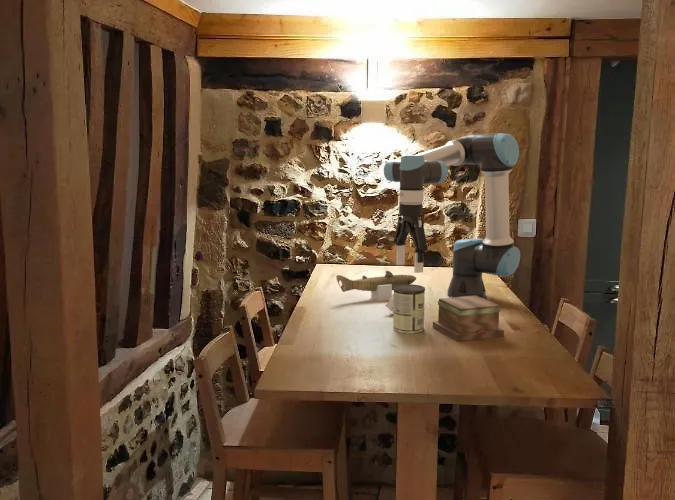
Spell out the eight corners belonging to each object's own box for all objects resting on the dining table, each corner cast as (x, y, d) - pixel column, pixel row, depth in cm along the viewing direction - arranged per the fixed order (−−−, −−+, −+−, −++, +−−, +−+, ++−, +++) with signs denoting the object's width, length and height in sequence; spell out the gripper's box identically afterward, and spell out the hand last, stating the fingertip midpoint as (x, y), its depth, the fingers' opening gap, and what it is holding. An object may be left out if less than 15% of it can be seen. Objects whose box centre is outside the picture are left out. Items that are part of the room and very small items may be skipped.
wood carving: (331, 300, 245) (331, 272, 243) (409, 292, 259) (409, 266, 257) (340, 306, 236) (341, 277, 235) (420, 297, 250) (421, 270, 249)
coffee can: (396, 323, 214) (397, 283, 212) (426, 326, 211) (427, 285, 208) (389, 331, 204) (390, 289, 202) (420, 334, 201) (421, 292, 199)
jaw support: (421, 308, 222) (402, 288, 222) (404, 324, 224) (385, 305, 225) (424, 300, 234) (406, 282, 234) (407, 316, 236) (389, 298, 236)
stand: (476, 322, 215) (478, 294, 213) (503, 336, 200) (505, 305, 198) (432, 327, 209) (433, 298, 208) (457, 341, 194) (458, 310, 193)
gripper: (384, 200, 211) (383, 262, 214) (417, 207, 188) (416, 276, 191) (404, 200, 213) (403, 261, 217) (440, 206, 190) (437, 275, 194)
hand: (409, 268), depth 204 cm, fingers open, 13 cm apart
